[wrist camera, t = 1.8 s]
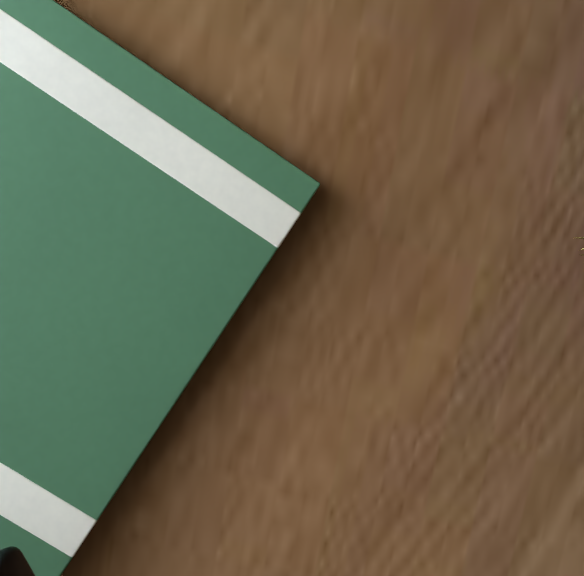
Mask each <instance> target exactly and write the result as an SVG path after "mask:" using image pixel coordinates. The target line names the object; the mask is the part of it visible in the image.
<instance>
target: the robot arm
mask: <svg viewBox="0 0 584 576" xmlns="http://www.w3.org/2000/svg"><path fill="white" fill-rule="evenodd" d="M0 576H35V574H34V572H33V571H32V569H31V567H30V565H29V564H28V562H27V560H26V558H25V556H24V555H23V553H22V552H21V550H20V549H19V548H17V547H14V546H10V547H7V548H3V549H0Z"/></svg>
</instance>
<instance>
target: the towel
mask: <svg viewBox="0 0 584 576" xmlns="http://www.w3.org/2000/svg"><path fill="white" fill-rule="evenodd" d="M319 186H320V183H319V182H317V181H316V180H314V179H313V178H312V177H310V176H309V175H307V174H306V173H304V172H303V171H301V170H300V169H298V168H297V167H296V166H294V165H293V164H291V163H290V162H288V161H287V160H285V159H284V158H282V157H281V156H279V155H278V154H277V153H275V152H274V151H272V150H271V149H269V148H268V147H266V146H265V145H263V144H262V143H261V142H259V141H258V140H256V139H255V138H253V137H252V136H250V135H249V134H247V133H246V132H244V131H243V130H242V129H240V128H239V127H237V126H236V125H234V124H233V123H231V122H230V121H228V120H227V119H226V118H224V117H223V116H221V115H220V114H218V113H217V112H215V111H214V110H212V109H211V108H210V107H208V106H207V105H205V104H204V103H202V102H201V101H199V100H198V99H196V98H195V97H193V96H192V95H191V94H189V93H188V92H186V91H185V90H183V89H182V88H180V87H179V86H177V85H176V84H175V83H173V82H172V81H170V80H169V79H167V78H166V77H164V76H163V75H161V74H160V73H159V72H157V71H156V70H154V69H153V68H151V67H150V66H148V65H147V64H145V63H144V62H142V61H141V60H140V59H138V58H137V57H135V56H134V55H132V54H131V53H129V52H128V51H126V50H125V49H124V48H122V47H121V46H119V45H118V44H116V43H115V42H113V41H112V40H110V39H109V38H107V37H106V36H105V35H103V34H102V33H100V32H99V31H97V30H96V29H94V28H93V27H91V26H90V25H89V24H87V23H86V22H84V21H83V20H81V19H80V18H78V17H77V16H75V15H74V14H73V13H71V12H70V11H68V10H67V9H65V8H64V7H62V6H61V5H59V4H58V3H56V2H55V1H54V0H0V549H3V548H7V547H10V546H14V547H17V548H19V549H20V550H21V552H22V553H23V555H24V556H25V558H26V560H27V562H28V564H29V565H30V567H31V569H32V571H33V572H34V574H35V576H61V574H62V573H63V571H64V570H65V568H66V567H67V565H68V564H69V562H70V561H71V559H72V558H73V556H74V555H75V553H76V552H77V550H78V549H79V547H80V546H81V544H82V543H83V541H84V540H85V538H86V537H87V535H88V534H89V532H90V531H91V529H92V528H93V526H94V525H95V523H96V522H97V520H98V519H99V517H100V516H101V514H102V513H103V511H104V510H105V508H106V507H107V505H108V504H109V502H110V501H111V499H112V498H113V496H114V495H115V493H116V492H117V490H118V489H119V487H120V486H121V484H122V483H123V481H124V480H125V478H126V477H127V475H128V474H129V472H130V471H131V469H132V468H133V466H134V464H135V463H136V461H137V460H138V458H139V457H140V455H141V454H142V452H143V451H144V449H145V448H146V446H147V445H148V443H149V442H150V440H151V439H152V437H153V436H154V434H155V433H156V431H157V430H158V428H159V427H160V425H161V424H162V422H163V421H164V419H165V418H166V416H167V415H168V413H169V412H170V410H171V409H172V407H173V406H174V404H175V403H176V401H177V400H178V398H179V397H180V395H181V394H182V392H183V391H184V389H185V388H186V386H187V385H188V383H189V382H190V380H191V379H192V377H193V376H194V374H195V373H196V371H197V370H198V368H199V367H200V365H201V364H202V362H203V361H204V359H205V358H206V356H207V355H208V353H209V352H210V350H211V349H212V347H213V346H214V344H215V343H216V341H217V340H218V338H219V336H220V335H221V333H222V332H223V330H224V329H225V327H226V326H227V324H228V323H229V321H230V320H231V318H232V317H233V315H234V314H235V312H236V311H237V309H238V308H239V306H240V305H241V303H242V302H243V300H244V299H245V297H246V296H247V294H248V293H249V291H250V290H251V288H252V287H253V285H254V284H255V282H256V281H257V279H258V278H259V276H260V275H261V273H262V272H263V270H264V269H265V267H266V266H267V264H268V263H269V261H270V260H271V258H272V257H273V255H274V254H275V252H276V251H277V249H278V248H279V246H280V245H281V243H282V242H283V240H284V239H285V237H286V236H287V234H288V233H289V231H290V230H291V228H292V227H293V225H294V224H295V222H296V221H297V219H298V218H299V216H300V215H301V213H302V212H303V210H304V208H305V207H306V205H307V204H308V202H309V201H310V199H311V198H312V196H313V195H314V193H315V192H316V190H317V189H318V187H319Z"/></svg>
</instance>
